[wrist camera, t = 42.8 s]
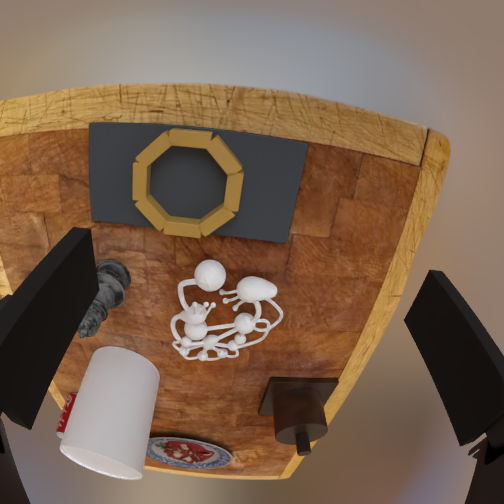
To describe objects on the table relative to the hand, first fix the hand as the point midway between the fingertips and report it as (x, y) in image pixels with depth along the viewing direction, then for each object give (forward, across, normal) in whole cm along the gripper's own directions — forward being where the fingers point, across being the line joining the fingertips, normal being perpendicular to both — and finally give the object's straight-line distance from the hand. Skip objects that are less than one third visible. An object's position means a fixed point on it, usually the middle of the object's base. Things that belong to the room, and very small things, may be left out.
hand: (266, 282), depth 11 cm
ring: (+22, -7, -4) cm, 24 cm away
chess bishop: (+23, -17, -18) cm, 34 cm away
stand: (+24, +15, -44) cm, 52 cm away
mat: (+23, -7, -4) cm, 24 cm away
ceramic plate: (+23, -8, -78) cm, 81 cm away
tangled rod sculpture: (+23, -1, -23) cm, 33 cm away
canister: (+23, -18, -40) cm, 50 cm away
